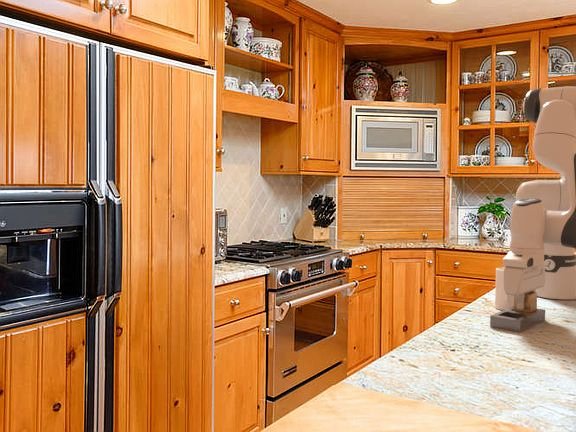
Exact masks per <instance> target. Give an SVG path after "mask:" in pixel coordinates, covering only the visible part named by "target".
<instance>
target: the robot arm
mask: <svg viewBox="0 0 576 432" xmlns="http://www.w3.org/2000/svg"><path fill="white" fill-rule="evenodd" d="M522 111H523V115H524V118H525V119H526V120H527V121H528V122H530V123H533V124H535V128H534V133H533V140H532V155H533V157H534V159H535V161H537V162H538V164H540V165H542V166H543V167H545V168H547V169H549V170H551V171H553V172H556V173H558V174H559V175H560V176H561V177H560V179H536V180H535V179H534V180H530V181H529V180H528V181H525V182H522V183H521V184H520V185H519V186H518V187H517V190H516V193H515V200H516V201H515V202H513V205H512V209H511V212H510V213H511V215H510V223H509V224H510V225H509V232H510V237H511V239H510V242H509V250H508V252H507V254H506V255H505V256H504V257H503V258H502V267H505V269H504V291H505V293H506V295H512V296H515V299H516V302H517V309H521V310H522V309H524V308H525V302H524V295H525V293H528V292H537V297H540V298H544V299H552V300H554V299H555V300H576V254H575V249H576V86H569V85H568V86H567V85H566V86H558V87H557V86H556V87H546V88H545V87H544V88H542V87H539V88H538V87H537V88H533V89H530V90H529V91H528V92H527V93H526V95H525V97H524V99H523V102H522Z"/></svg>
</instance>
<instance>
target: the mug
mask: <svg viewBox="0 0 576 432" xmlns="http://www.w3.org/2000/svg"><path fill="white" fill-rule="evenodd" d="M505 267H506V266H502V267H500V266H499V267H496V268H495V291H494V292H495V294H494V296H495V297H494V305H493V306H494V308H495V309H497V310H500V311H503V310H506V309H508V308H511V307H513V306H514V296H512V295H506V293H505V291H504V269H505Z"/></svg>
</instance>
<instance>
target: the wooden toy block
mask: <svg viewBox="0 0 576 432" xmlns="http://www.w3.org/2000/svg"><path fill="white" fill-rule="evenodd" d="M524 302H525V308H524V309H522V310H521V309H517V302H516V299H515V296H514V311H518V312H524V313H530V314H531V313H533V312H535V311H537V309H538V306H537V305H538V296H537V292H528V293H525V295H524Z"/></svg>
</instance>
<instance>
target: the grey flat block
mask: <svg viewBox="0 0 576 432" xmlns="http://www.w3.org/2000/svg"><path fill="white" fill-rule="evenodd" d="M489 319H490V320H489V327H490V328H495V329H501V330H506V331H511V332H514V333H515V332H517V333H523V332H524V331H526V330H528V329H530V328H532V327H535V326H536V325H539V324H541V323H542V322H545V321H546V309H542V308H537V311H535V312H533V313H531V314H530V313H524V312H518V311H514V306H513V307H511V308H508V309H506V310H500V311H499V312H496V313H494V314H491V315H490V318H489Z"/></svg>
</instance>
